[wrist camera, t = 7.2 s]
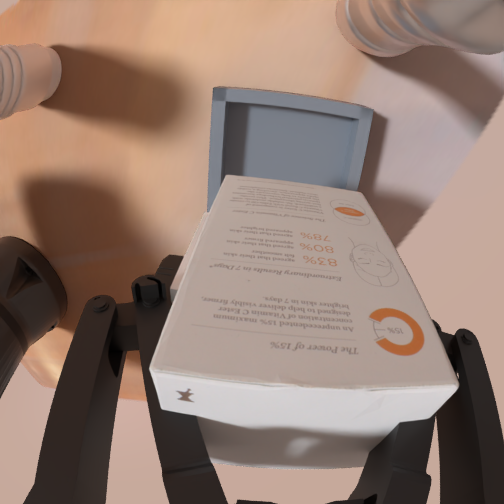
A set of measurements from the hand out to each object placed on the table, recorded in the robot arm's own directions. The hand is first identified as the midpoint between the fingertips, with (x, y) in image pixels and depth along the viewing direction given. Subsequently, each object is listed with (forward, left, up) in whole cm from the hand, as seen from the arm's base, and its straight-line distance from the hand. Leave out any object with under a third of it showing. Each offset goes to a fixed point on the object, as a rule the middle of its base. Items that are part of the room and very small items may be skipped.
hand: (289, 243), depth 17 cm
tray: (0, 0, -11) cm, 11 cm away
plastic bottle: (+5, +15, -11) cm, 19 cm away
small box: (0, 0, -2) cm, 2 cm away
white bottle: (-25, +10, -11) cm, 29 cm away
